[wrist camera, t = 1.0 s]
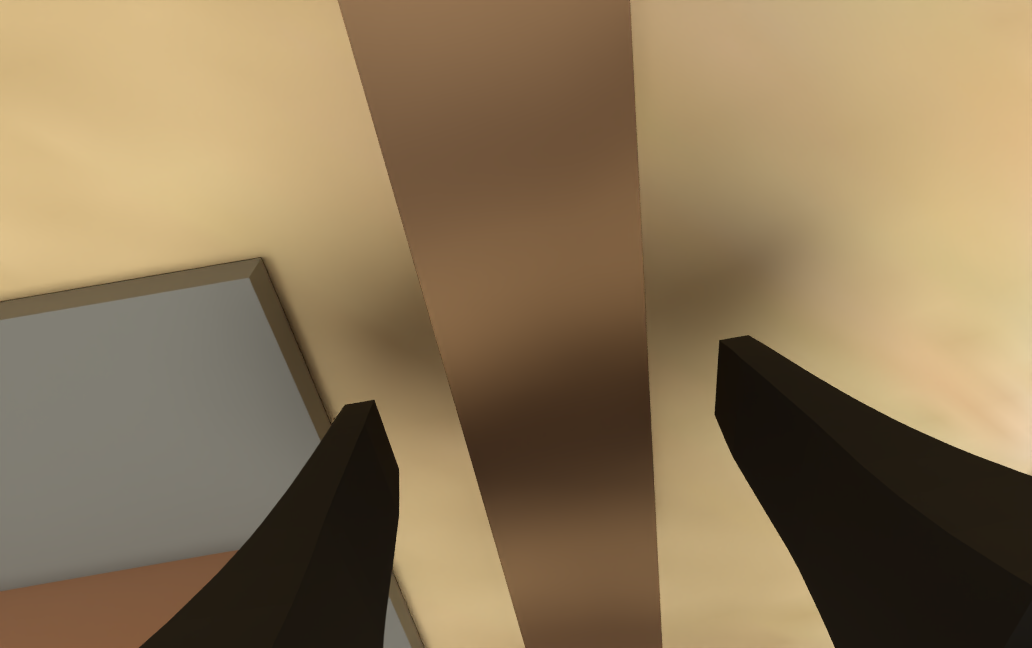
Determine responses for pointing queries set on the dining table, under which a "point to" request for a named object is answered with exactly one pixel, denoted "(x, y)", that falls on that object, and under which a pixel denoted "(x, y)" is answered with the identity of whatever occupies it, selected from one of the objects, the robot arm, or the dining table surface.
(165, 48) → the dining table surface
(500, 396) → the walnut beam
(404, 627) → the stand
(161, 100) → the dining table surface
